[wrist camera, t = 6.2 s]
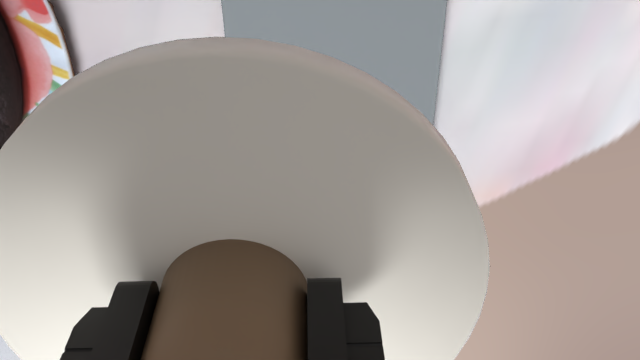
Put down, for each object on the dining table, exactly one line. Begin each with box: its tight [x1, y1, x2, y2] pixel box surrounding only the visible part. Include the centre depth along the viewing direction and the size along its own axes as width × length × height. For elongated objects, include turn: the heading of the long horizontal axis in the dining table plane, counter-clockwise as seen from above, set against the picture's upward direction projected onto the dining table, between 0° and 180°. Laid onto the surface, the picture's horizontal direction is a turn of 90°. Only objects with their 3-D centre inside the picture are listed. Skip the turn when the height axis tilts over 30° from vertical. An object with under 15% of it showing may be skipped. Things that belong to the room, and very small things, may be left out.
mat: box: [221, 0, 447, 125], centre depth 33 cm, size 12×12×1 cm
